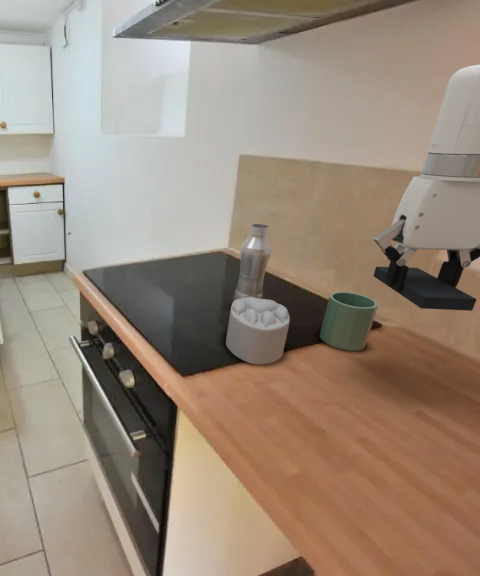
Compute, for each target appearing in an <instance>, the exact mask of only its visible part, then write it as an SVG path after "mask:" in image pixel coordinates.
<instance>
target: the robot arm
mask: <svg viewBox="0 0 480 576" xmlns="http://www.w3.org/2000/svg"><path fill="white" fill-rule="evenodd" d="M432 133H433V134H432V135H431V140H430V143H429V147H428V149H427V153H426V157H425V160H424V163H423V167H422V170H421V172H420V175H419V176H413V177H412V179H411V180H410V182H409V183H408V186H407V187H406V190H405V191H404V193H403V195H402V197H401V199H400V202H399V204H398V206H397V210H396V212H395V214H394V217H393V219H392V223H391V225H390V226H389V227H387V228H385V229H384V230H383V231H381V232H379V233H378V234H377V235H376V236H374V238H373V241H374V243H376V245H377V246H378V248H380V251H381V252H382V253H383V254H384V255H385V257H386V258H387V260H388V261H390V262H389V265H388V267H389V268H388V271H387V275H386V284H387V285H388V286H387V285H386V284H385V285H386V286H387V287H388V288H390V287H391V288H390V289H391V290H393V289H394V290H395V291H394V290H393V291H394V292H396V291H401V290H402V287H403V284H404V282H405V279H406V276H407V272H408V269H409V268H410V267H409V266H407V263H408V262H409V261H410V259H411V258H412V257H413V256H414V255H415V253H416V252H418V250H436V251H439V250H440V251H446V254H447V259H448V260H445V261H443V262H442V263H441V266H440V270H439V272H438V274H437V277H436V278H438V279H440V280H441V281H443V282H445V283H447V284H449V285H451V286H453V287H455V288H457V286H458V284H459V282H460V279H461V276H462V275H463V272H464V269H467V268H469V267H470V266H471V265H472V263H473V262H474V261H476V260H478V259H479V258H480V64H474V65H469V66H465V67H462V68H460V69H458V70H457V71H455V72H454V73H453V74H452V75H451V77H450V79H449V81H448V83H447V86H446V88H445V92H444V95H443V98H442V102H441V106H440V109H439V112H438V115H437V120H436V123H435V126H434V130H433V132H432ZM392 241H393V242H396V245H395V246H393V244H392V243H391V242H392Z"/></svg>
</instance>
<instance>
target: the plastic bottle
mask: <svg viewBox="0 0 480 576" xmlns="http://www.w3.org/2000/svg"><path fill="white" fill-rule="evenodd" d="M269 228H270V226H269V225H267V224H262V223H254V224H251V225H250V230H249V233H248V234H249V235H250V236H249V237H247V238H246V239H245V240H244V242H243V243H242V244H241V246H240V266H239V267H240V268H239V274H238V275H239V276H238V280H237V284H236V288H235V291H234V294H233V295H232V296H233V297H232V303H233V302H234V301H235V300H237V299H241V298H247V297H253V298H258V299H264V293H263V292H264V291H263V290H264V279H265V275H266V270H267V267H268V264H269V261H270V258H271V255H272V246H271V244H270V242H269V240H268V238H267V236H269Z"/></svg>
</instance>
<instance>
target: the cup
mask: <svg viewBox="0 0 480 576" xmlns="http://www.w3.org/2000/svg"><path fill="white" fill-rule="evenodd" d="M378 307H379V303H378V302H377V301H376V300H375V299H373V298H371V297H370V296H366V295H363V294H360V293H357V292H356V293H355V292H351V291H334V292H331V293H329V295H328V300H327V303H326V309H325V312H324V316H323V320H322V324H321V327H320V332H319V339H320V340H321V341H322V342H324V343H325V344H327V345H328V346H331V347H333V348H336V349H340V350H344V351H349V352H350V351H352V352H355V351H361V350H364V348H366V345H367V343H368V340H369V336H370V333H371V329H372V326H373V324H374V320H375V316H376V314H377V310H378Z"/></svg>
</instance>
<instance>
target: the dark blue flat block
mask: <svg viewBox="0 0 480 576" xmlns="http://www.w3.org/2000/svg"><path fill="white" fill-rule="evenodd" d="M388 268H389V266H375V269H374V272H373V277H374V278H375V279H377V280H378V281H380V282H381V283H383V284H384V285H386V286H387V287H389V286H388V285H387V284H386V275H387V271H388ZM408 268H409V269H408V272H407V276H406V279H405V282H404V284H403V287H402V290H401V291H395V290H394V289H392V288H391V287H389V288H390V289H392V291H394V292H396V293H398V294H399V295H400V296H401V297H403V298H405V299H406V300H407V301H409V302H410V303H412V304H414V305H415V306H417V307H418V308H419V309H423V310H424V309H425V310H446V311H447V310H448V311H469V312H472V311H473V309H474V307H475V304H476V302H477V298H475V297H473V296H471V295H470V294H468V293H466V292H465V291H462V290H461V289H459V288H457V287H456V288H455V287H453V286H451V285H449V284H447V283H445V282H443V281H441V280H440V279H438V278H437V277H436V276H434V275H432V274H430V273H428V272H427V271H424V270H423V269H421V268H419V267H408Z"/></svg>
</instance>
